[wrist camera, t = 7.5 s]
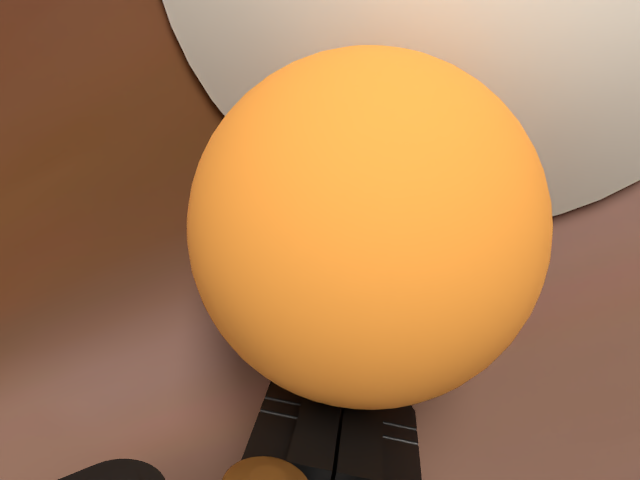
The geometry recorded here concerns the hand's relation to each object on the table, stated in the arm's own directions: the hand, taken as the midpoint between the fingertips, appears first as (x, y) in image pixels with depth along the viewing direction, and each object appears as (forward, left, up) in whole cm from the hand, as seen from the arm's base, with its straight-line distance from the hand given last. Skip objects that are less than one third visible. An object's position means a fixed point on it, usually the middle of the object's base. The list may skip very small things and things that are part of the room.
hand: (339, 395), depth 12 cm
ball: (0, -4, +1) cm, 4 cm away
